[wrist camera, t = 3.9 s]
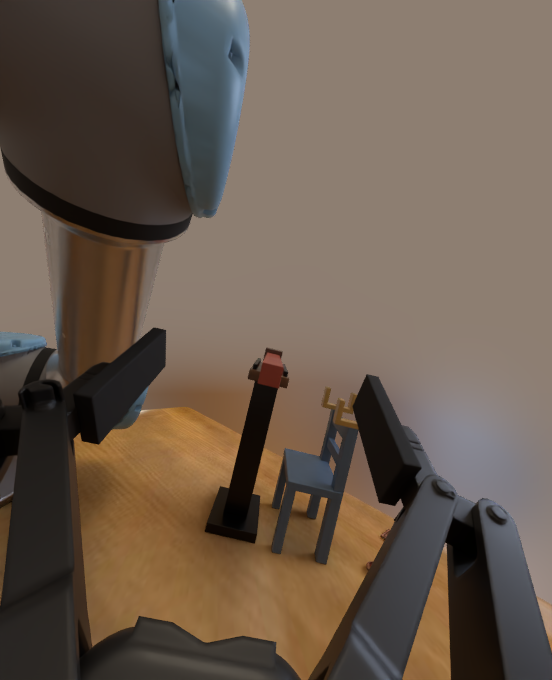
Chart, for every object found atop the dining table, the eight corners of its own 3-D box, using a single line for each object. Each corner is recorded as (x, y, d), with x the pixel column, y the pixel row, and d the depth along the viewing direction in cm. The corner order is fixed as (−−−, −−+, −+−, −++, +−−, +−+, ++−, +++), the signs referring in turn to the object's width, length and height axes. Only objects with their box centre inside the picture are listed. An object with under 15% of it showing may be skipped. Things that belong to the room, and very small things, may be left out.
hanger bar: (282, 389, 28) (289, 361, 28) (253, 382, 28) (260, 354, 28) (278, 366, 52) (282, 351, 52) (262, 362, 52) (266, 347, 52)
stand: (253, 554, 38) (297, 375, 38) (201, 541, 38) (244, 362, 38) (259, 496, 52) (290, 365, 52) (220, 487, 52) (252, 356, 52)
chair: (340, 568, 40) (379, 409, 40) (270, 552, 40) (309, 392, 39) (325, 515, 52) (354, 393, 52) (271, 502, 52) (301, 380, 51)
